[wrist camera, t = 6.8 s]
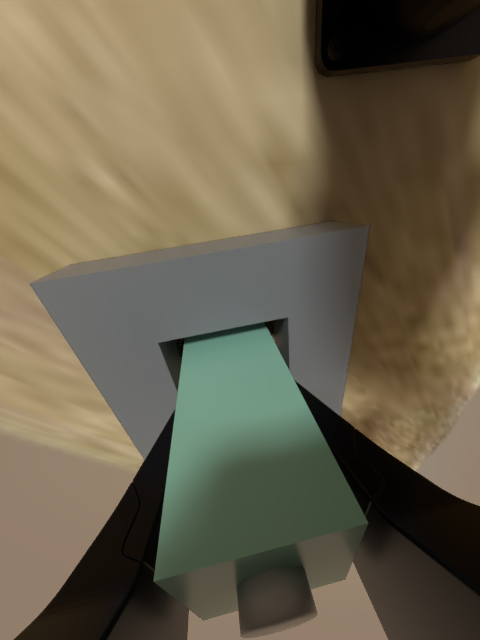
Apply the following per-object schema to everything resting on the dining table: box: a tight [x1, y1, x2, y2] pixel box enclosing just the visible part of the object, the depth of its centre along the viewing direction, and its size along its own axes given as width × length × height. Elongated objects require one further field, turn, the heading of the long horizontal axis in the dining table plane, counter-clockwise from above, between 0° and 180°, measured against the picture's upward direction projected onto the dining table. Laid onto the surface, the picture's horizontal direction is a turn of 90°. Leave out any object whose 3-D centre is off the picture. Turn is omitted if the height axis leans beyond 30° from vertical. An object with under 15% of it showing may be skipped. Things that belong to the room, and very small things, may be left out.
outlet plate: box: [30, 221, 370, 460], centre depth 12 cm, size 12×12×2 cm
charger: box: [153, 322, 368, 638], centre depth 8 cm, size 4×4×9 cm
